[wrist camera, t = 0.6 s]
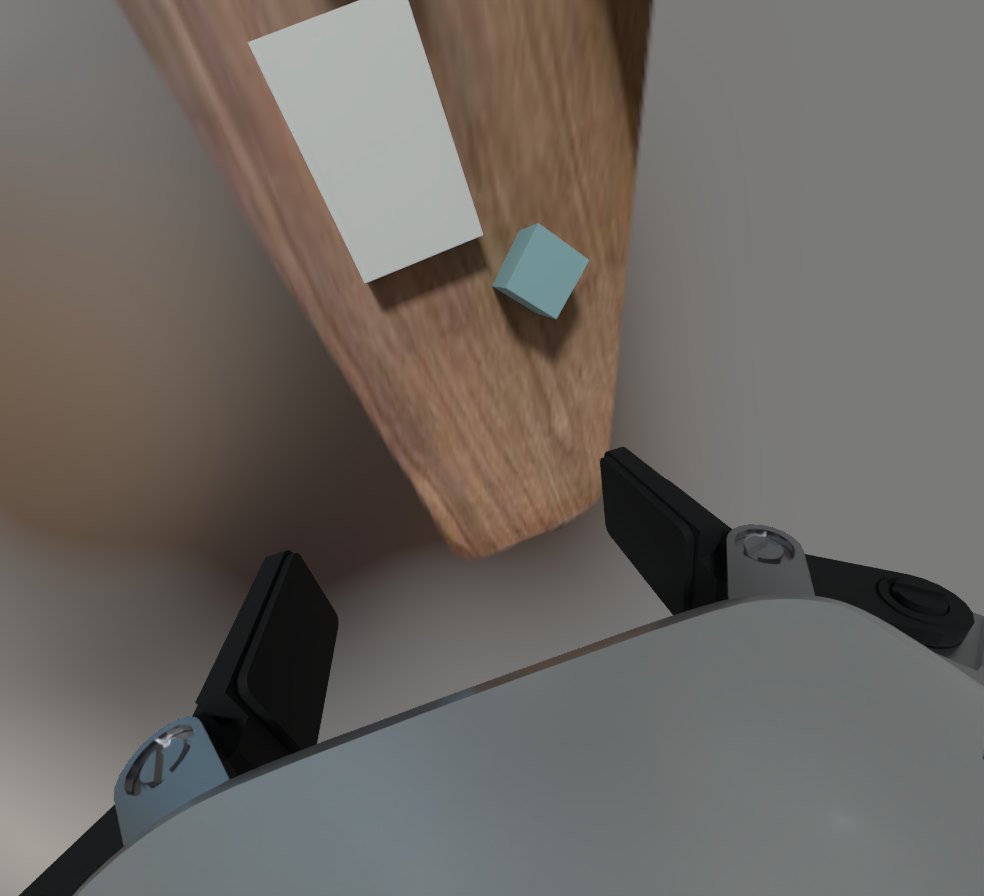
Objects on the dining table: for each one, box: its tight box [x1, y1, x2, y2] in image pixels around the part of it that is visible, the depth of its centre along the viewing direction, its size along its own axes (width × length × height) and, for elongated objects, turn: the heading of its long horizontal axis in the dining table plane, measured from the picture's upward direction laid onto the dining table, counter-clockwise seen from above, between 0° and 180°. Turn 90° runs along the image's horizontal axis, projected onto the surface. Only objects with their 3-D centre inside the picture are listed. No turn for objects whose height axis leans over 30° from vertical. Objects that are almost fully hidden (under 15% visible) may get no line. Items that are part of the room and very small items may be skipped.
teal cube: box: [492, 223, 589, 319], centre depth 31 cm, size 5×5×5 cm
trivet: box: [248, 0, 483, 283], centre depth 26 cm, size 14×10×2 cm
